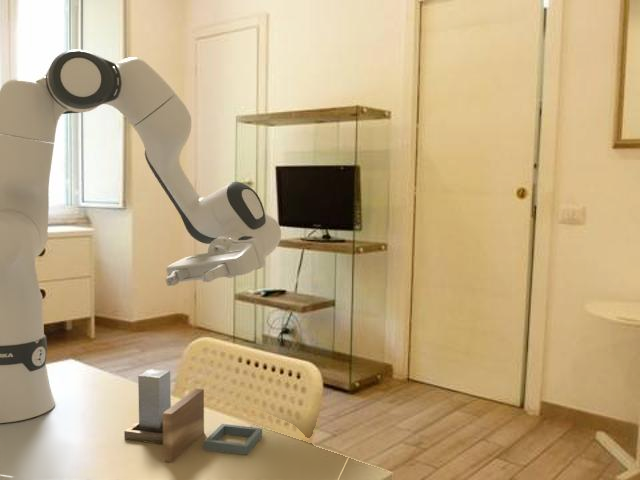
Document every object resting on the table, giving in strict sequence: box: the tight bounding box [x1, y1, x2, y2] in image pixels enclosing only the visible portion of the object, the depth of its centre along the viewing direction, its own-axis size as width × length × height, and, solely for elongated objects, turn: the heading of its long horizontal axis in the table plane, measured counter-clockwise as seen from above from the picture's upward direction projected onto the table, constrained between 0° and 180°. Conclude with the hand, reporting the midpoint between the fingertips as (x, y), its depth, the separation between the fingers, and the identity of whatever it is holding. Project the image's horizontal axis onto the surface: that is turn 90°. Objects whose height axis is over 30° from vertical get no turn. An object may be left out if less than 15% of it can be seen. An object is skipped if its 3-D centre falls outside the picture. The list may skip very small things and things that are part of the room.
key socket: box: [123, 420, 163, 445], centre depth 109 cm, size 8×8×2 cm
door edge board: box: [162, 388, 205, 463], centre depth 104 cm, size 2×12×8 cm, turn 166°
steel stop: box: [137, 368, 172, 434], centre depth 109 cm, size 4×4×11 cm
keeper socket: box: [203, 423, 263, 456], centre depth 106 cm, size 8×8×2 cm
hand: (186, 280), depth 117 cm, fingers open, 8 cm apart
